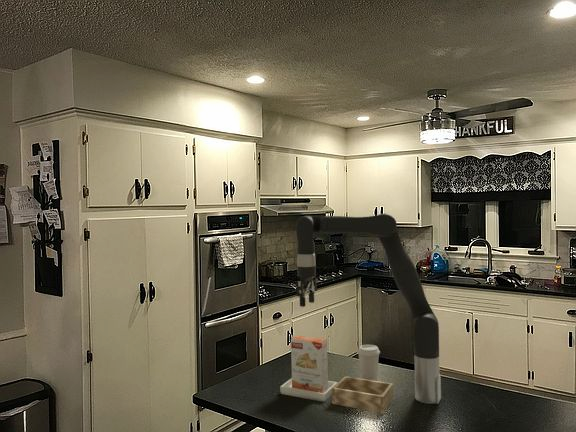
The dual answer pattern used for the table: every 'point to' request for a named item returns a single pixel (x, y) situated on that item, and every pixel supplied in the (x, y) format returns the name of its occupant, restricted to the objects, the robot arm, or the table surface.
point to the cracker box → (309, 364)
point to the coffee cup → (368, 361)
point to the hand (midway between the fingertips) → (307, 304)
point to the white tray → (312, 395)
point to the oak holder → (363, 394)
